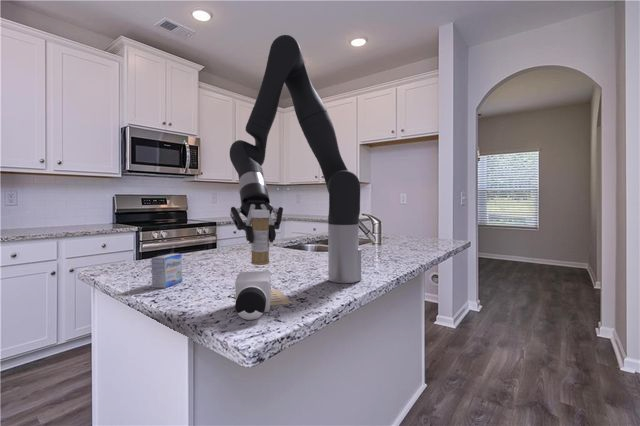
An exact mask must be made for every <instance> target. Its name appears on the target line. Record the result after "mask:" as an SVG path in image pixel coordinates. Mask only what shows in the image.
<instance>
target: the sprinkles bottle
mask: <svg viewBox="0 0 640 426" xmlns="http://www.w3.org/2000/svg"><path fill="white" fill-rule="evenodd" d="M270 215H271V214H270V212H269V210H251V220H252V224H251V226H252V231H253V243H250V249H251V262H250V264H251V265H253V266H267V265H269V264H270V255H269V254H270V241H269V217H270Z"/></svg>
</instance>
